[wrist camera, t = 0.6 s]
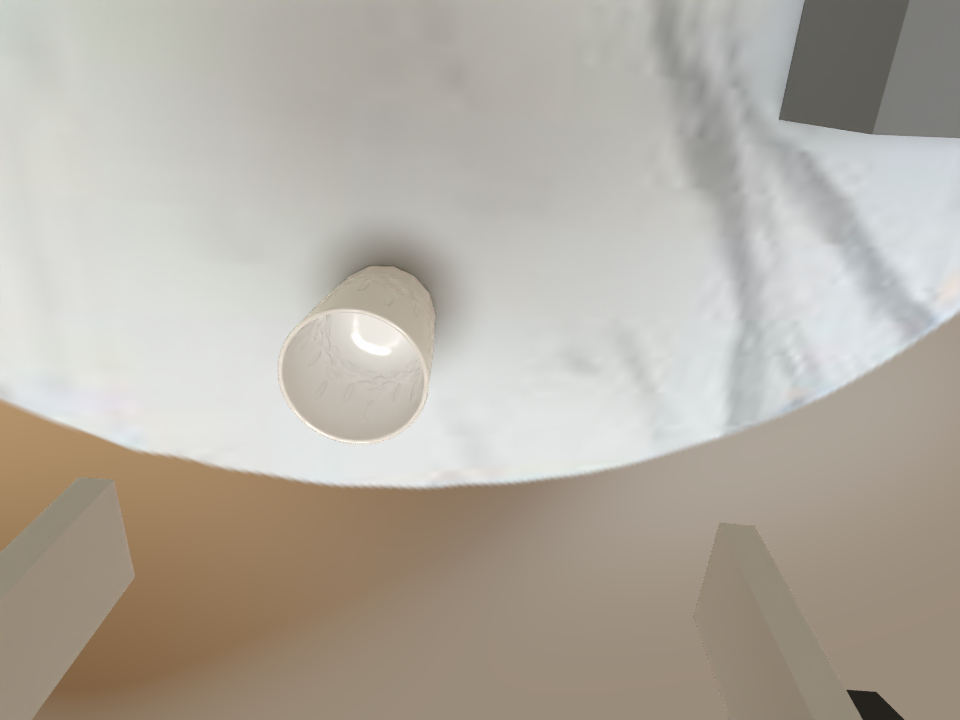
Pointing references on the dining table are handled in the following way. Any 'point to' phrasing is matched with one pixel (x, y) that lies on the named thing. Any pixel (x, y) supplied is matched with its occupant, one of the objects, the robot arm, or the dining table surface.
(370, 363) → the white cup
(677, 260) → the dining table surface
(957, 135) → the dispenser
